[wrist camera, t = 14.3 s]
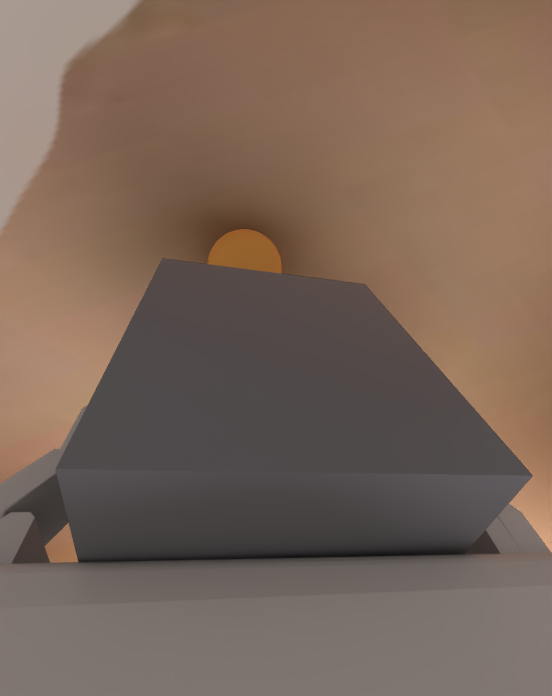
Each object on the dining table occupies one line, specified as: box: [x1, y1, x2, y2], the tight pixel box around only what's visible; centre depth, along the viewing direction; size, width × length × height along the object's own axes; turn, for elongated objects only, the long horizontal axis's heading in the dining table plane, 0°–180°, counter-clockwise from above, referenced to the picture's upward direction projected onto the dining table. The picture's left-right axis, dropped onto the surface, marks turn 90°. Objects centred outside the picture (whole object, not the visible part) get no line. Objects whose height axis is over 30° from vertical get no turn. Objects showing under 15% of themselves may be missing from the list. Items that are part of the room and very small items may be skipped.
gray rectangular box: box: [55, 258, 533, 562], centre depth 11 cm, size 8×8×9 cm
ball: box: [208, 229, 282, 273], centre depth 23 cm, size 5×5×5 cm
